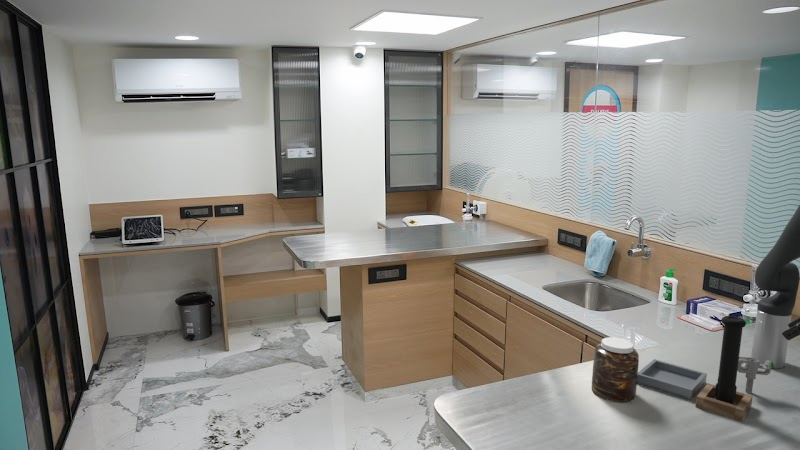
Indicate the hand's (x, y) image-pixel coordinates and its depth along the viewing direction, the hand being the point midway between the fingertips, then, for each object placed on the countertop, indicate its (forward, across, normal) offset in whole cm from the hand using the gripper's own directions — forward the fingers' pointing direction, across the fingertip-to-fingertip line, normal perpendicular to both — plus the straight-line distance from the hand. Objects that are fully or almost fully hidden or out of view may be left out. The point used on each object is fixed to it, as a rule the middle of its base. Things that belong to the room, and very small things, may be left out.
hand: (787, 332), depth 140 cm
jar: (+43, +13, -9) cm, 46 cm away
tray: (+36, -5, -2) cm, 37 cm away
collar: (+26, 0, +9) cm, 27 cm away
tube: (+26, 0, +9) cm, 27 cm away
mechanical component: (+23, -14, +11) cm, 30 cm away
